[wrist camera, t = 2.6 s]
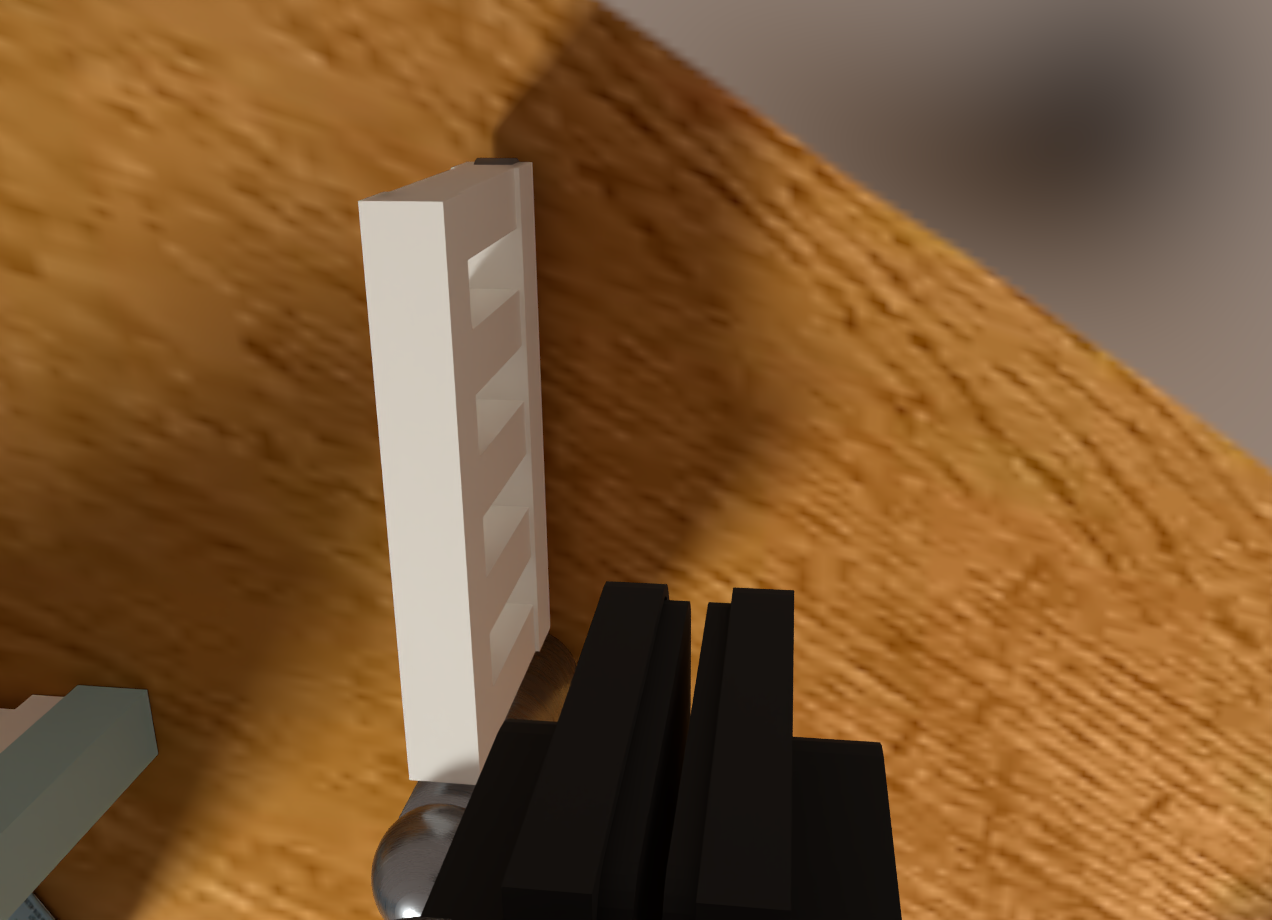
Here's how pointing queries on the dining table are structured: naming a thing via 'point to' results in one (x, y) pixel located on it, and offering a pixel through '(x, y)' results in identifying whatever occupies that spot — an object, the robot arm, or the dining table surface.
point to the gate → (459, 450)
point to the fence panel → (23, 717)
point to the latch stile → (67, 780)
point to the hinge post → (455, 798)
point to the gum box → (31, 910)
